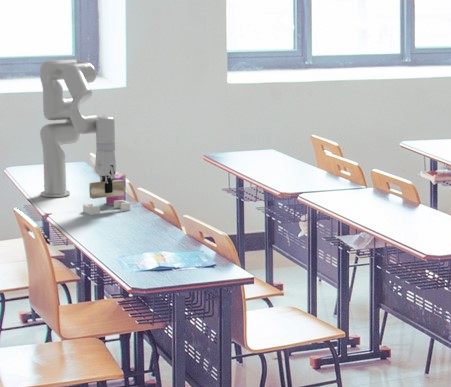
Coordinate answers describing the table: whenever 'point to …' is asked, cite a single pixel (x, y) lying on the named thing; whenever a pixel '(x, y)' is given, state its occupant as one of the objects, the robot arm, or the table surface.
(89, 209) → the endcaps
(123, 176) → the box
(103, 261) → the table surface
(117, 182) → the slat
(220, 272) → the table surface
